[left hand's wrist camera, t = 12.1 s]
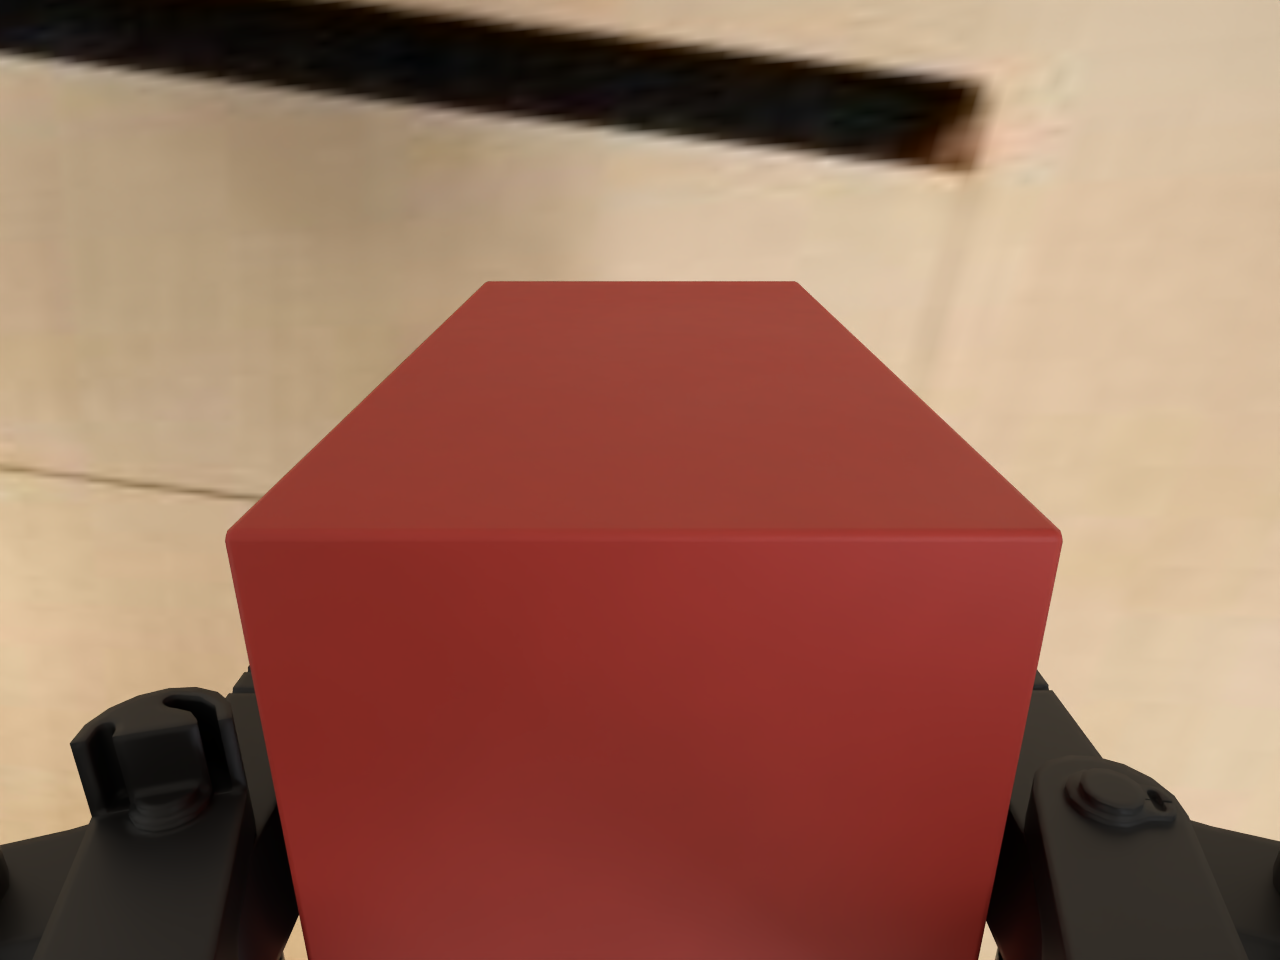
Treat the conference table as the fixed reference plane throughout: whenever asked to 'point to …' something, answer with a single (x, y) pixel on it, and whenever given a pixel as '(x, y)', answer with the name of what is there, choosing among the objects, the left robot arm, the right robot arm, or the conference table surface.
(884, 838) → the block
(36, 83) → the conference table surface
